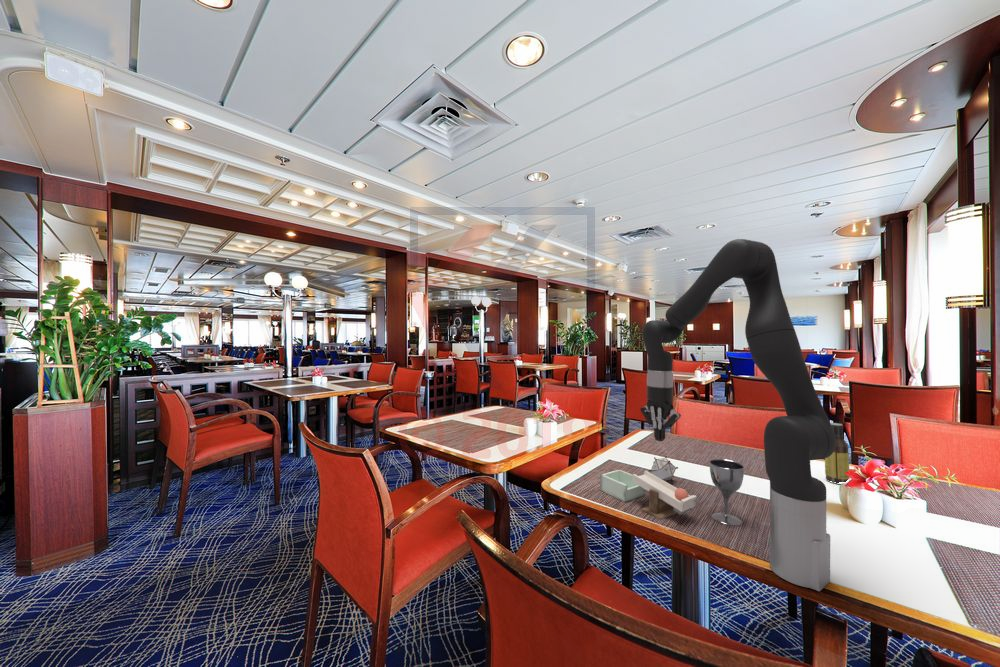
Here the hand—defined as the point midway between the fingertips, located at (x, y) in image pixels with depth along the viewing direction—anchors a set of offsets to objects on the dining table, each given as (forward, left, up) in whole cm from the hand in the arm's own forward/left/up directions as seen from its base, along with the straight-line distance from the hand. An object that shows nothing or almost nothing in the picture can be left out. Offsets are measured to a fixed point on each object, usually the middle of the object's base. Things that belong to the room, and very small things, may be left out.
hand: (659, 440), depth 114 cm
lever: (-6, +3, -14) cm, 15 cm away
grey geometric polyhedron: (+7, -12, -18) cm, 23 cm away
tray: (+8, +8, -18) cm, 21 cm away
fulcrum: (-6, +8, -18) cm, 20 cm away
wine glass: (-18, -3, -18) cm, 25 cm away
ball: (-12, +8, -11) cm, 18 cm away
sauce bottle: (-25, -62, -18) cm, 70 cm away
